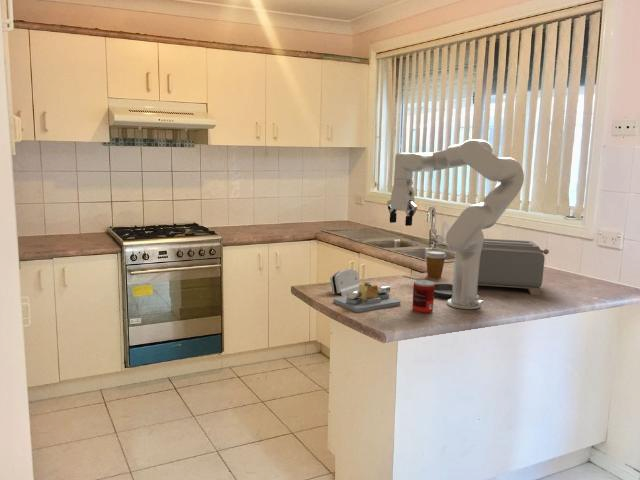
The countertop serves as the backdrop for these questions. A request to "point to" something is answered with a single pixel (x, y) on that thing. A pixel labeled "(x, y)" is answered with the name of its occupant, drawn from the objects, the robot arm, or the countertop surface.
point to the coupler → (368, 291)
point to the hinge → (345, 282)
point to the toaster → (512, 264)
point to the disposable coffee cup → (435, 263)
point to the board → (367, 304)
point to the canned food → (423, 296)
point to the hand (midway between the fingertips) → (400, 224)
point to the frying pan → (441, 290)
